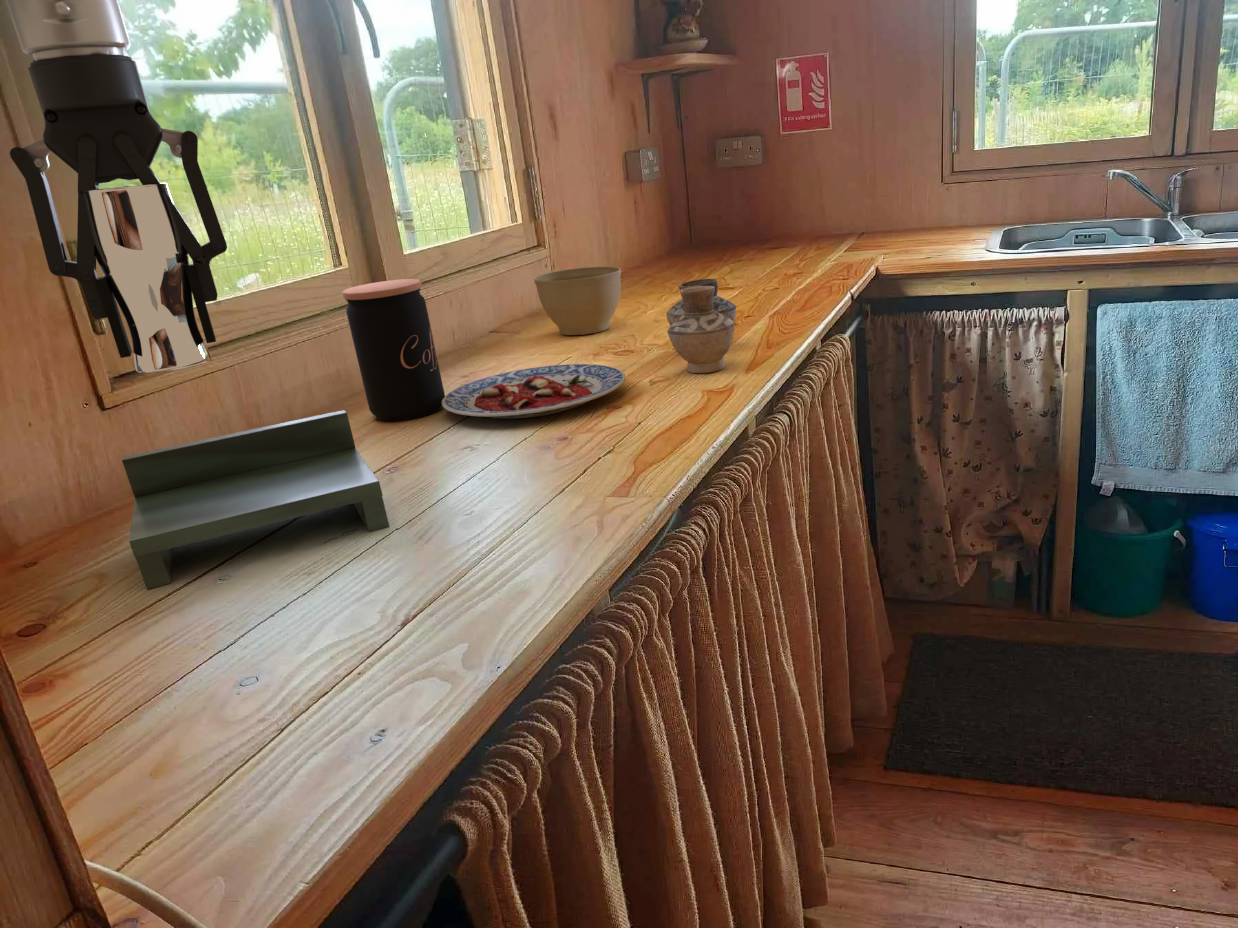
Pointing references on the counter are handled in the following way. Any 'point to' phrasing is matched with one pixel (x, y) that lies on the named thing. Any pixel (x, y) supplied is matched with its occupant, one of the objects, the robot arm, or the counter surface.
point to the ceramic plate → (533, 391)
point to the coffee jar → (395, 349)
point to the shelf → (245, 486)
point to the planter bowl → (580, 298)
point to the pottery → (701, 325)
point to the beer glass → (147, 274)
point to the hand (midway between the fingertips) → (169, 346)
